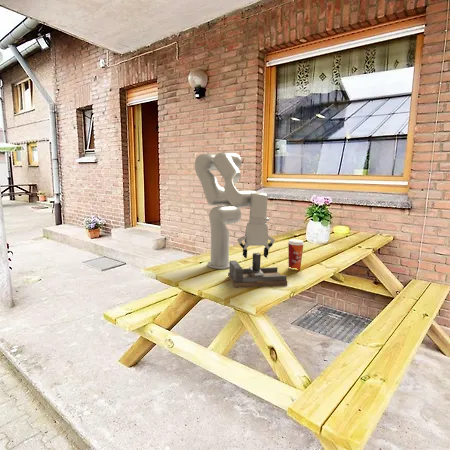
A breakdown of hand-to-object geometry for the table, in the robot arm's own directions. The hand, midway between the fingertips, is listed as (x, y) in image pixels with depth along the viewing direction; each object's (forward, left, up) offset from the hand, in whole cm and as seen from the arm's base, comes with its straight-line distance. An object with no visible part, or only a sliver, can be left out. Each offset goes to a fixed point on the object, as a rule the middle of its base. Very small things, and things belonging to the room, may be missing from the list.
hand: (255, 257), depth 153 cm
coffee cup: (-14, +26, -11) cm, 32 cm away
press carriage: (+1, 0, -9) cm, 9 cm away
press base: (+1, +1, -11) cm, 11 cm away
